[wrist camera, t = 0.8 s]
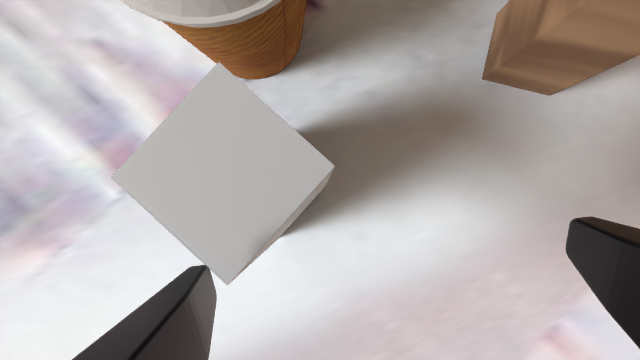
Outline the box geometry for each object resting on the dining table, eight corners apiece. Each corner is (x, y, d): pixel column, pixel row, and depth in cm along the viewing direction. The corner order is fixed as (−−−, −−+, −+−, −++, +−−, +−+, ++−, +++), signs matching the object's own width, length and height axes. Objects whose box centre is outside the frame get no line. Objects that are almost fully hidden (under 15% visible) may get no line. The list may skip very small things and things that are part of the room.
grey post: (326, 184, 23) (335, 165, 10) (279, 237, 23) (227, 285, 10) (275, 138, 23) (218, 61, 10) (227, 190, 23) (110, 177, 10)
